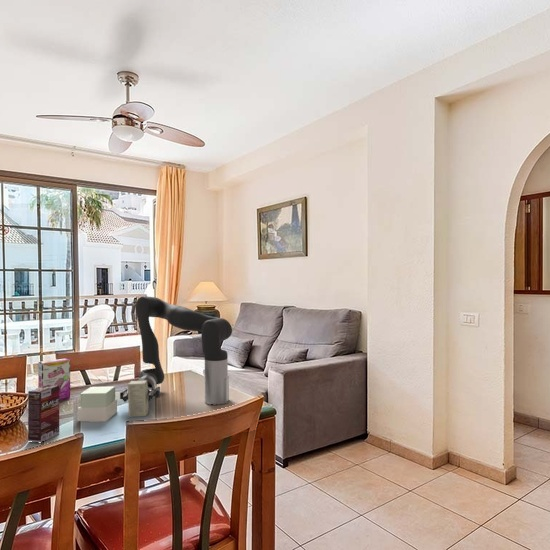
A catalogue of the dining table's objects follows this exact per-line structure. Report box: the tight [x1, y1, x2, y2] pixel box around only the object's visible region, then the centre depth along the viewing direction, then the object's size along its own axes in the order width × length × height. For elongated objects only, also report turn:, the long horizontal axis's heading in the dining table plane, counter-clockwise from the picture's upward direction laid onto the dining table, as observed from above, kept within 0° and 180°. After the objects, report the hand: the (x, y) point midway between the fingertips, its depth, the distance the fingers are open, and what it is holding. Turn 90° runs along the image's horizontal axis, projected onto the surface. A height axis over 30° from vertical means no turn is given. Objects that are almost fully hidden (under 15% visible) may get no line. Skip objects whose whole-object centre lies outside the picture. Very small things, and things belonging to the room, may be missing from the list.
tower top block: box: [79, 385, 116, 408], centre depth 153 cm, size 9×9×5 cm
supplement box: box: [27, 385, 60, 443], centre depth 133 cm, size 9×5×16 cm, turn 168°
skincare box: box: [127, 380, 149, 418], centre depth 154 cm, size 6×4×12 cm
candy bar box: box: [37, 358, 71, 401], centre depth 174 cm, size 11×5×16 cm, turn 137°
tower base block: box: [77, 399, 118, 422], centre depth 153 cm, size 10×10×5 cm
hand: (137, 398), depth 152 cm, fingers open, 8 cm apart
